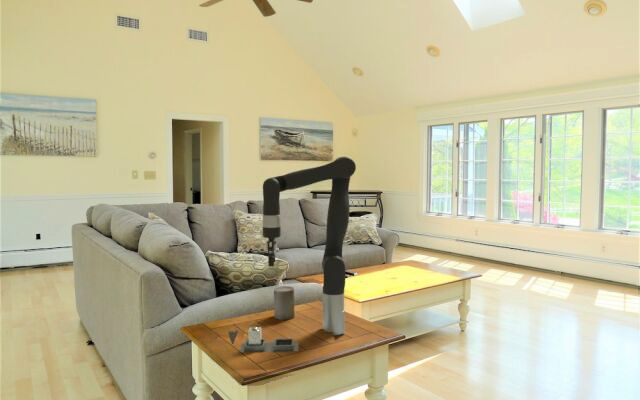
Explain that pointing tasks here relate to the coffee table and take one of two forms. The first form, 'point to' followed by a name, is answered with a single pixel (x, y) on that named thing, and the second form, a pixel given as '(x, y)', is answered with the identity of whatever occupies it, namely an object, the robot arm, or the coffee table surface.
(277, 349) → the block holder
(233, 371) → the coffee table surface
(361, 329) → the coffee table surface
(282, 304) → the pillar candle
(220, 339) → the coffee table surface
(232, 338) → the smartphone
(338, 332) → the robot arm
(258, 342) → the metal block with knob
